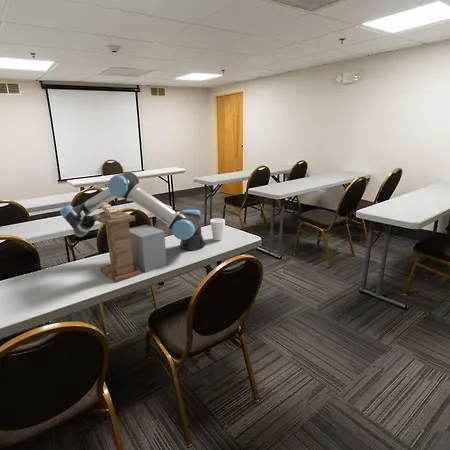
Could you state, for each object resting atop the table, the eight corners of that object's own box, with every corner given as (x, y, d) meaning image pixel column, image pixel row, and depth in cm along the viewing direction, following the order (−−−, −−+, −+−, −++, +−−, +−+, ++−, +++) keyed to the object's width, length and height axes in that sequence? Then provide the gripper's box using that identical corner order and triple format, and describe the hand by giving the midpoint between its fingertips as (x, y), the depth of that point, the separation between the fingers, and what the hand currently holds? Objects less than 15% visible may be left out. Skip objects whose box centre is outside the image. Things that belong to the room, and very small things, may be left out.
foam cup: (217, 242, 201) (216, 223, 198) (207, 239, 208) (207, 220, 204) (228, 239, 207) (227, 220, 204) (219, 236, 214) (218, 217, 210)
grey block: (166, 265, 169) (164, 231, 164) (145, 272, 161) (141, 237, 155) (149, 256, 182) (146, 224, 176) (128, 262, 173) (124, 229, 168)
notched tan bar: (118, 217, 149) (117, 211, 148) (111, 218, 147) (110, 212, 146) (107, 207, 169) (106, 202, 168) (101, 208, 167) (101, 203, 166)
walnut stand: (140, 274, 159) (134, 216, 151) (116, 282, 151) (108, 222, 142) (124, 263, 172) (117, 210, 163) (100, 271, 163) (92, 215, 154)
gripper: (109, 224, 189) (121, 212, 173) (65, 234, 173) (74, 222, 157) (105, 213, 190) (116, 200, 174) (61, 221, 174) (69, 208, 158)
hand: (96, 210), depth 165 cm, fingers open, 13 cm apart
